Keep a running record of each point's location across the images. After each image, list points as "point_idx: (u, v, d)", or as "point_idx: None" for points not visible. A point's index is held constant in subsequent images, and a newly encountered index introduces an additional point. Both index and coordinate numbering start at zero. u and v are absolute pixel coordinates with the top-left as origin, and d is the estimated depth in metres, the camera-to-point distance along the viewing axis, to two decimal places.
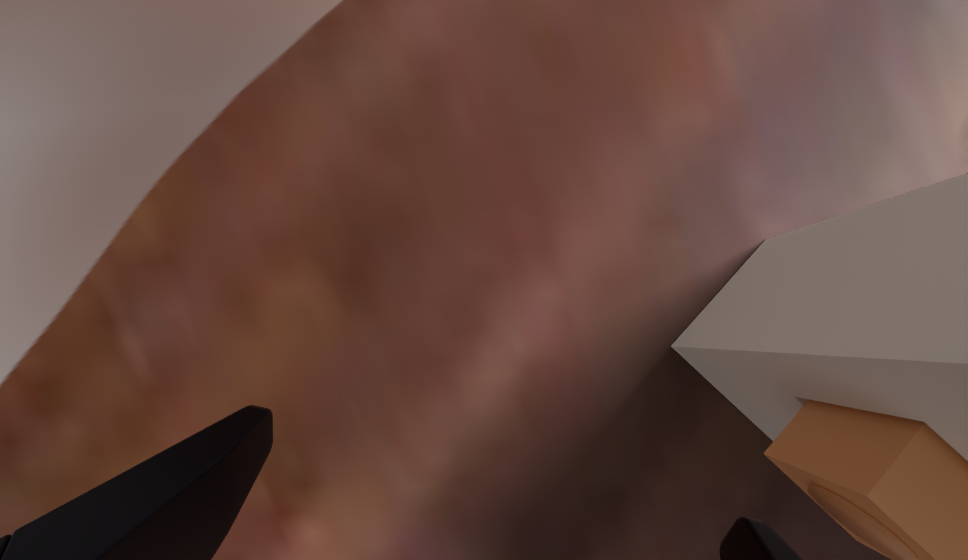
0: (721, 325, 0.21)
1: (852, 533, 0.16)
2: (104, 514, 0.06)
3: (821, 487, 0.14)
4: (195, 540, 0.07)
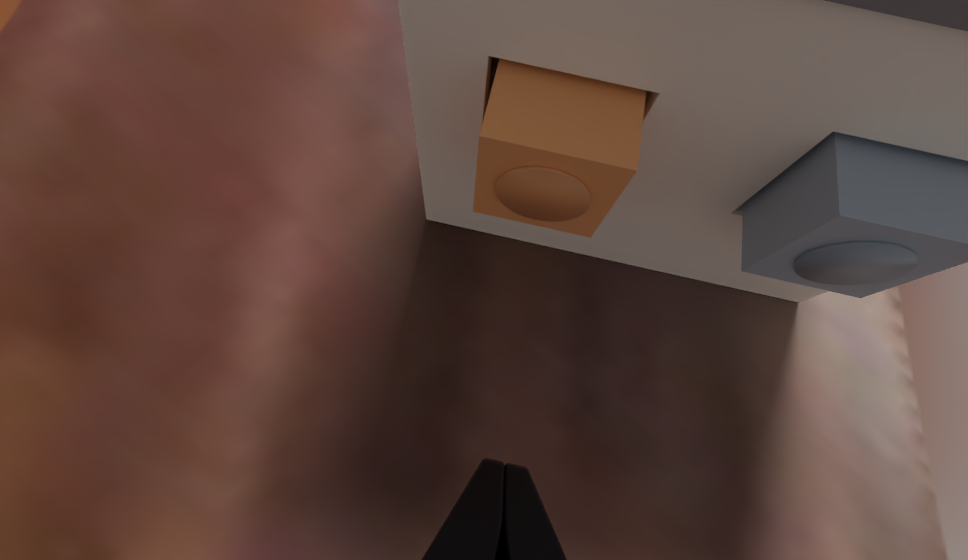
0: None
1: (578, 230, 0.16)
2: None
3: (496, 186, 0.14)
4: None
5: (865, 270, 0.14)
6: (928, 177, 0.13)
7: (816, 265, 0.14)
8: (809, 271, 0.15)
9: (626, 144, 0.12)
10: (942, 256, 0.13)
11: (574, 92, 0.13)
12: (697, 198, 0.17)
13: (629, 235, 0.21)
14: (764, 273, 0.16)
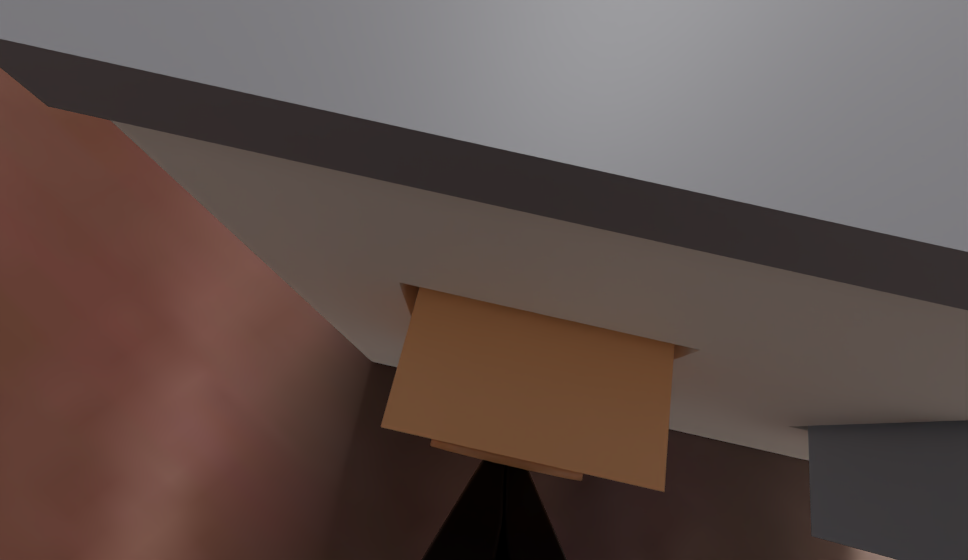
0: None
1: None
2: None
3: None
4: None
5: None
6: None
7: None
8: None
9: (644, 433, 0.07)
10: None
11: (554, 325, 0.08)
12: (741, 412, 0.11)
13: None
14: None
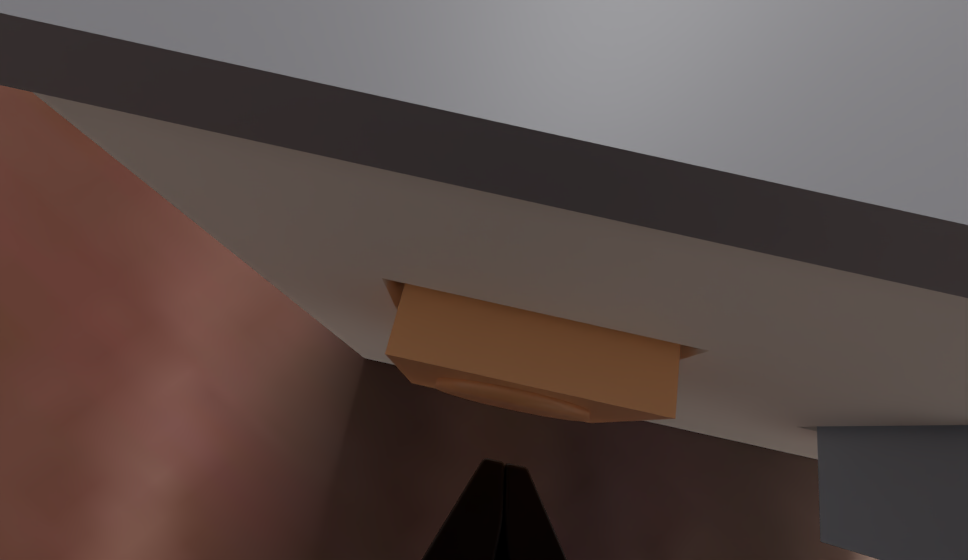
0: None
1: None
2: None
3: None
4: None
5: None
6: None
7: None
8: None
9: (654, 361, 0.07)
10: None
11: None
12: (748, 412, 0.11)
13: None
14: None
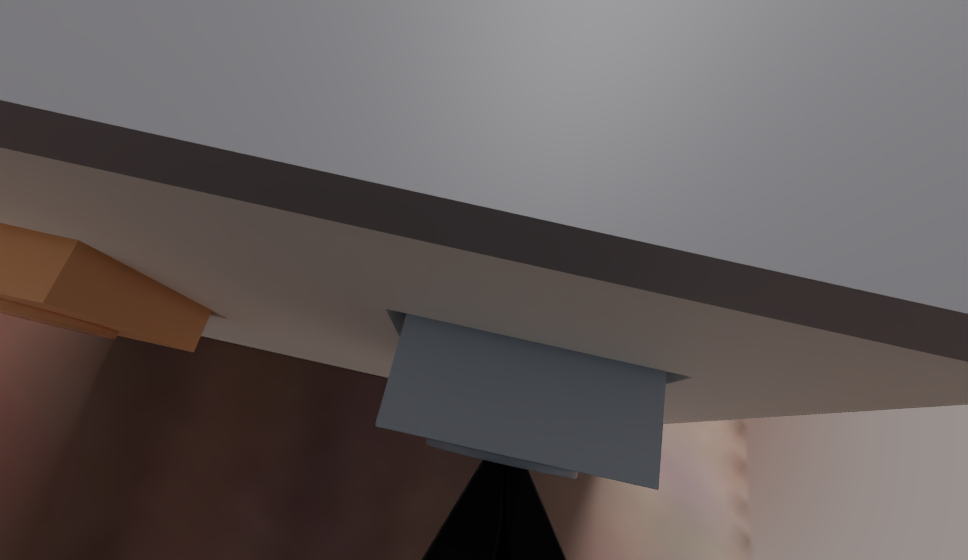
0: None
1: (164, 345, 0.11)
2: None
3: None
4: None
5: None
6: None
7: None
8: None
9: (45, 253, 0.07)
10: None
11: None
12: (350, 343, 0.11)
13: (342, 358, 0.15)
14: None
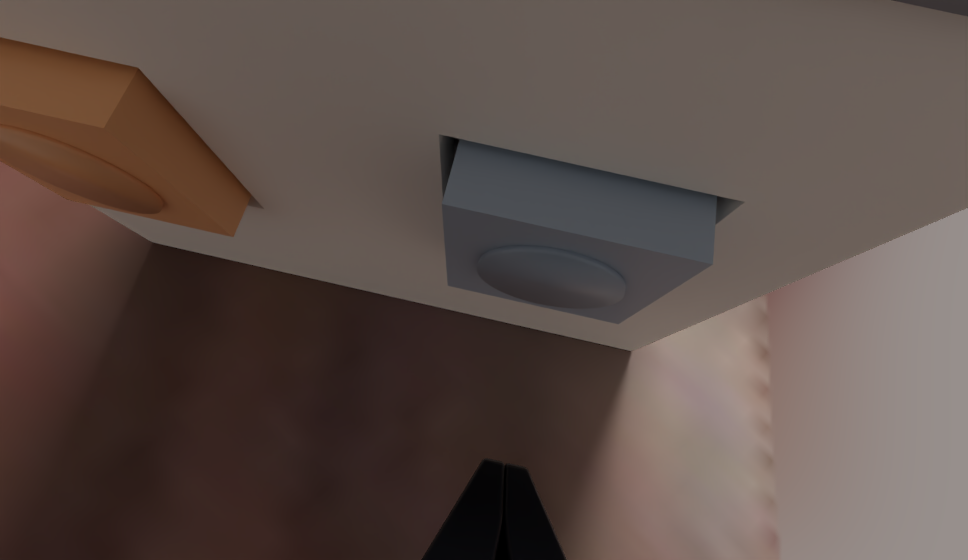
0: None
1: (205, 226, 0.11)
2: None
3: (16, 160, 0.09)
4: None
5: (570, 289, 0.09)
6: None
7: (506, 281, 0.10)
8: (510, 288, 0.10)
9: (104, 85, 0.07)
10: (647, 271, 0.08)
11: None
12: (386, 229, 0.11)
13: (371, 270, 0.15)
14: (475, 289, 0.11)
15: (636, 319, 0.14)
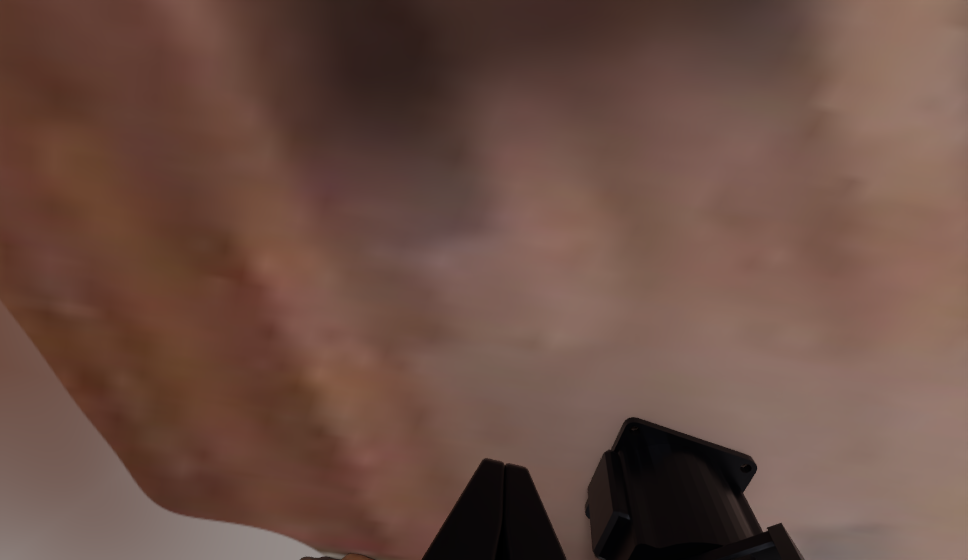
0: None
1: None
2: None
3: None
4: None
5: None
6: None
7: None
8: None
9: None
10: None
11: None
12: None
13: None
14: None
15: None
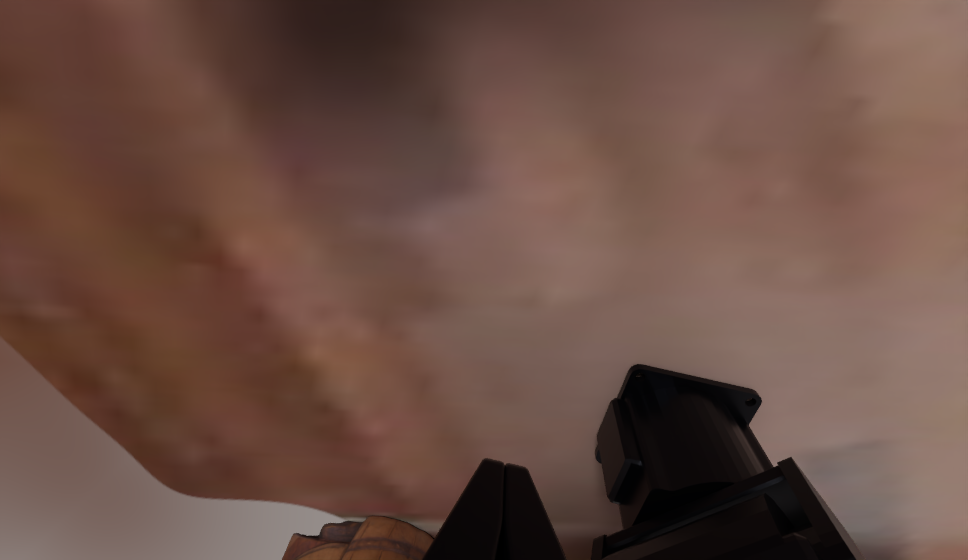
0: None
1: None
2: None
3: None
4: None
5: None
6: None
7: None
8: None
9: None
10: None
11: None
12: None
13: None
14: None
15: None
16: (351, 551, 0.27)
